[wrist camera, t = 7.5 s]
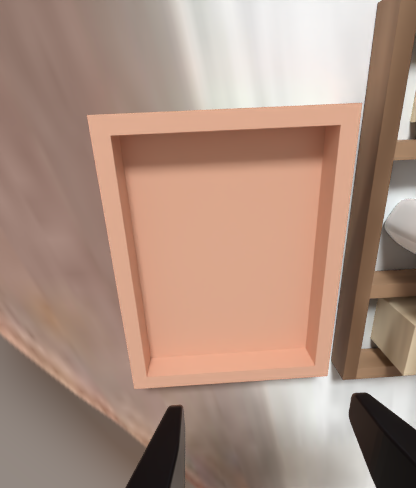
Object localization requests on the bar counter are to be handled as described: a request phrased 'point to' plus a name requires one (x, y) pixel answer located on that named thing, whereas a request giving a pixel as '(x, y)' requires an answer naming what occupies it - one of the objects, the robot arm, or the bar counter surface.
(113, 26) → the bar counter surface
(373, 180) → the frame
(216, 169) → the tray
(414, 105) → the block
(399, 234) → the eye dropper bottle
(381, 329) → the block
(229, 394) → the bar counter surface
